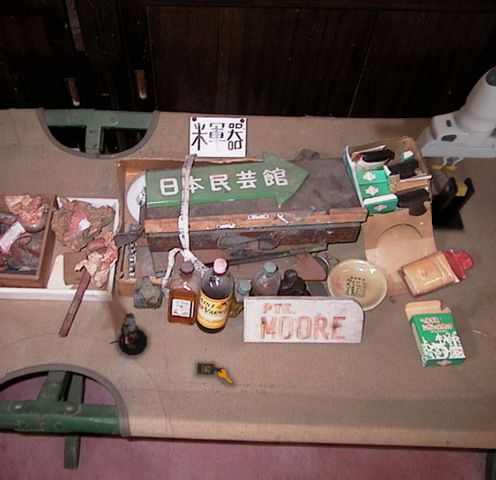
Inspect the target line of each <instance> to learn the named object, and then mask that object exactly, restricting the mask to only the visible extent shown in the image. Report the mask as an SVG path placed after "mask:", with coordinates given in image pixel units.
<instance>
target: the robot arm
mask: <svg viewBox="0 0 496 480" xmlns="http://www.w3.org/2000/svg"><path fill="white" fill-rule="evenodd" d="M415 143H416V144H417V145H418V147H419V149H420V151H421V153H422V156H421V157H429V158H430V157H432V158H433V157H434V158H436V157H437V158H441V159H440V165H441V166H456V165H455V164H456V163H459V162H461V161H463V160H464V159H465V158H470V159H472V158H474V159H494V158H496V66H495V67H492V68H491V69H489V70H488V71H487V72H485V73H484V75H482V76H481V77H480V78H479V80H478V81H477V82H476V83H475V84H474V86H473V88H472V89H471V91H470V92H469V94H468V96H467V97H466V100H465V103H464V105H462V106H461V107H460V109H459V110H456V111H453V112H452V111H451V112H449V113H445V114H440V115H435V116H433V117H432V118H431V120H430V125H428V126H426V127H425V128H424V129H423V130H422V132H421V133H420V134H419V136H418V138H417V139H416V141H415Z"/></svg>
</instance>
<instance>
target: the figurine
mask: <svg viewBox="0 0 496 480" xmlns="http://www.w3.org/2000/svg"><path fill="white" fill-rule="evenodd" d="M136 320H138V318H137V317H135V315H134V313H133V312H129V313H125V316H124V319H123V322H122V324H121V328H120V332H121V334H120V336H119V337H118V339H117V340H114V341H111V342H109V345H113V344H115V343H118V347H119V348H120V350H121V352H122V353H124V354H126V355H127V356H138V355H140V354H142V353H143V352H144V351H145V349H146V348H147V346H148V337H147V335H146V333H145V332H144V331H143V330H141V329H140V328H139V326H138V325H137V324H136V323H137V322H136Z"/></svg>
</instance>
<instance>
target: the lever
mask: <svg viewBox="0 0 496 480" xmlns="http://www.w3.org/2000/svg"><path fill="white" fill-rule="evenodd" d="M456 167H457V166H456V165H454V166H441V164H431V165H430V170H438V171H439V170H441V172H442V173H443V174H444V176H445V177H446V179H447V181H448V180H449V179H450V177H454V178H455V181H456V184H457V188H458V193H457V194H456V195H455V196H465V193H466V191H467V188H468V187H467V186H466V185H465V184H464V181H458V179H457V178H456V177H455V176H454V175H453V173H452V171H455V170H456Z"/></svg>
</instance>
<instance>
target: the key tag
mask: <svg viewBox="0 0 496 480" xmlns="http://www.w3.org/2000/svg"><path fill="white" fill-rule="evenodd" d="M215 371H216V372H218V373H217V376H218V377H220V378H223V379H225V380H226V381H227V382H228V383H229V384H232V383H233V382H232V380H231V379H230V378H229V377H228V374H227V371H226V370H225V369H222V368H221V369H220V368H215V364H204V363H203V364H202V363H201V364H199V363H198V366H197V374H198V375H215Z"/></svg>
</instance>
